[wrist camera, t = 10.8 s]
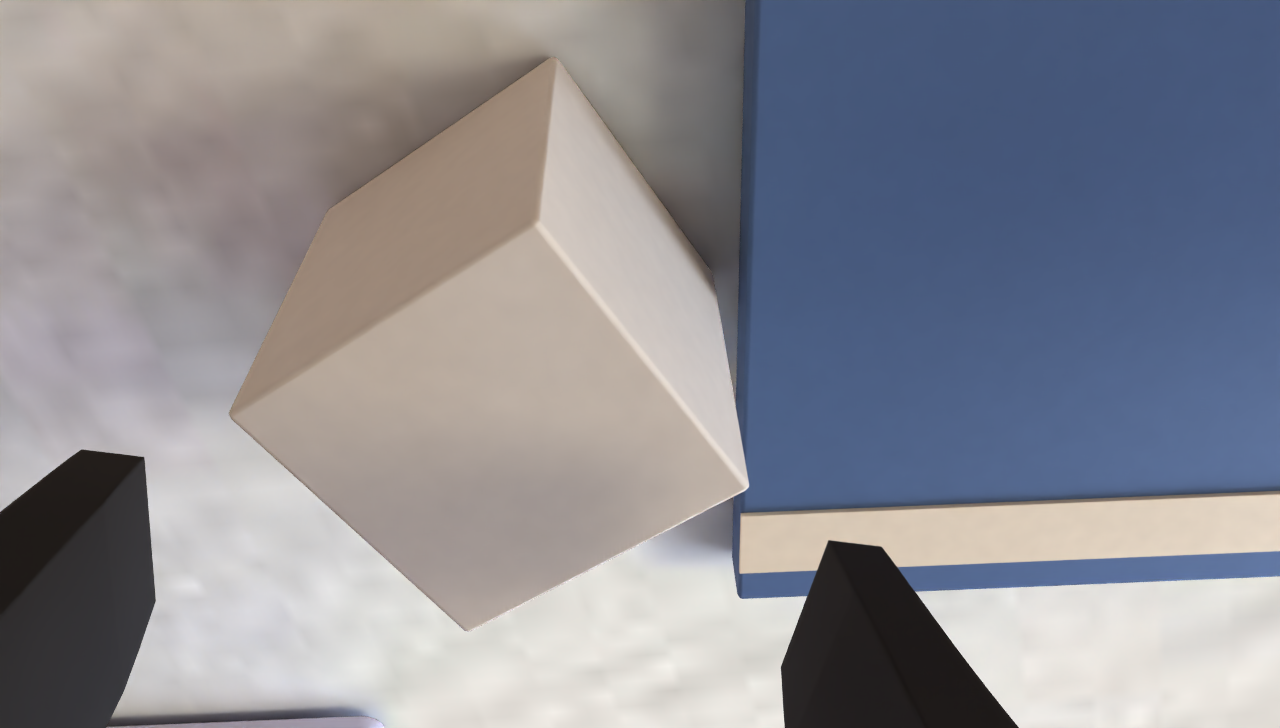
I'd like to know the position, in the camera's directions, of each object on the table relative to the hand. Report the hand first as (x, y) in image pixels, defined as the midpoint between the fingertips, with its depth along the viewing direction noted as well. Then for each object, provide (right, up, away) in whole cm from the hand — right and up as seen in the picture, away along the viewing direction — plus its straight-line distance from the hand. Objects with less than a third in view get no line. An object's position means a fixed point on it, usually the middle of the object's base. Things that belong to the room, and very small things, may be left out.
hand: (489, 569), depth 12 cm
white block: (0, +4, +6) cm, 7 cm away
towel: (+9, +4, +6) cm, 12 cm away
